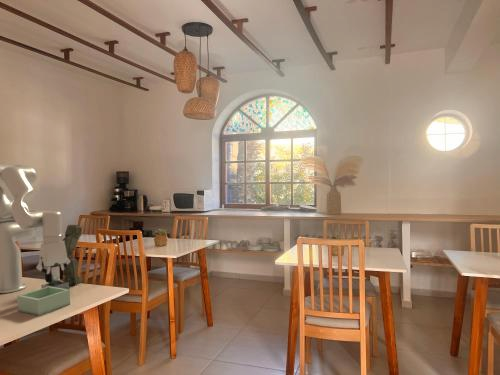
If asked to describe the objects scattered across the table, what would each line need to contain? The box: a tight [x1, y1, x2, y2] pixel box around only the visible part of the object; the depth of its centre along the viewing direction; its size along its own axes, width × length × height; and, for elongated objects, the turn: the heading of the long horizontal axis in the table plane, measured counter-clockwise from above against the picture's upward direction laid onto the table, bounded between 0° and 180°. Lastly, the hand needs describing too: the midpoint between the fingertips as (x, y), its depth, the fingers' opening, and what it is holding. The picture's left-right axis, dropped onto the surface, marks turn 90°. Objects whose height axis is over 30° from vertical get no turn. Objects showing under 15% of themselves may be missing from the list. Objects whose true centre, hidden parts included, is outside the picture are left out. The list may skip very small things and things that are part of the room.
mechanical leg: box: [62, 224, 84, 288], centre depth 172 cm, size 14×7×30 cm, turn 168°
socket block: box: [40, 280, 71, 291], centre depth 156 cm, size 8×8×5 cm
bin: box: [16, 286, 71, 317], centre depth 140 cm, size 13×13×6 cm
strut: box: [49, 262, 61, 286], centre depth 156 cm, size 4×4×12 cm
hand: (54, 280), depth 156 cm, fingers closed on strut, 4 cm apart
